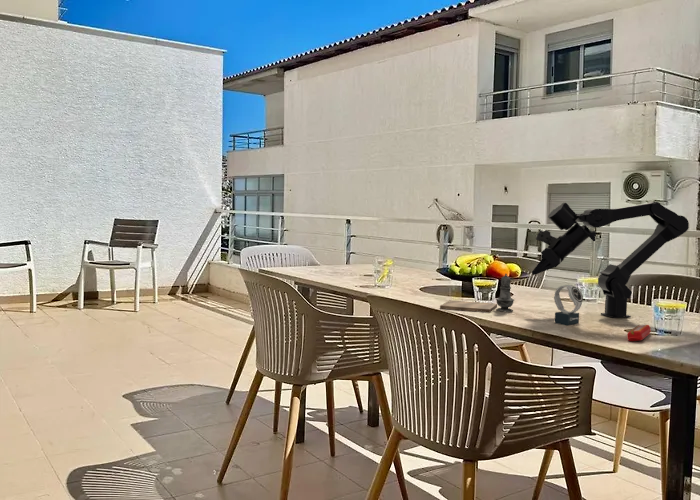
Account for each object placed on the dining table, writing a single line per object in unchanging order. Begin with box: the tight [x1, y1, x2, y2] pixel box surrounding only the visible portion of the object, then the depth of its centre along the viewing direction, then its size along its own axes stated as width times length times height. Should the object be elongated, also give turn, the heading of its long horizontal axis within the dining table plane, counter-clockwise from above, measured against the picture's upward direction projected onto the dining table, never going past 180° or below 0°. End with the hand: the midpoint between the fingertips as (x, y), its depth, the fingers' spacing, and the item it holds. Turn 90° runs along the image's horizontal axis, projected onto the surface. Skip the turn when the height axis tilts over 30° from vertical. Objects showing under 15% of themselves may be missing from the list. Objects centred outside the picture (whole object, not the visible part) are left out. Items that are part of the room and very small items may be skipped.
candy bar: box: [626, 324, 652, 342], centre depth 172 cm, size 16×4×3 cm, turn 147°
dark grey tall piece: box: [495, 273, 515, 313], centre depth 213 cm, size 6×6×12 cm
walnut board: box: [439, 299, 498, 313], centre depth 217 cm, size 16×14×1 cm
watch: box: [553, 284, 584, 326], centre depth 190 cm, size 6×8×11 cm
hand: (532, 273), depth 210 cm, fingers closed
